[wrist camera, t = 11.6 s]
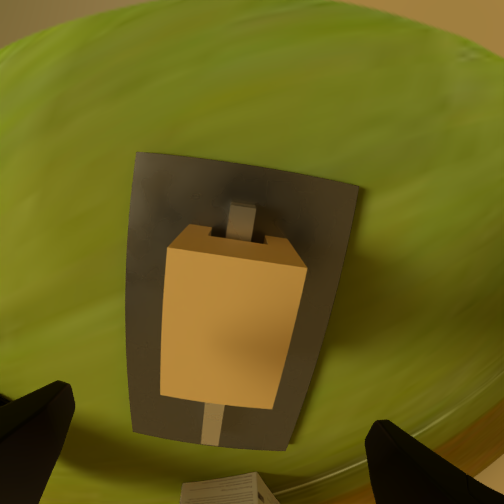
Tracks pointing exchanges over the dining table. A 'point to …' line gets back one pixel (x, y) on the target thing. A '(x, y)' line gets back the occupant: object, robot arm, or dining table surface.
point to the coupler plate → (238, 228)
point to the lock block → (228, 317)
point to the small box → (228, 491)
